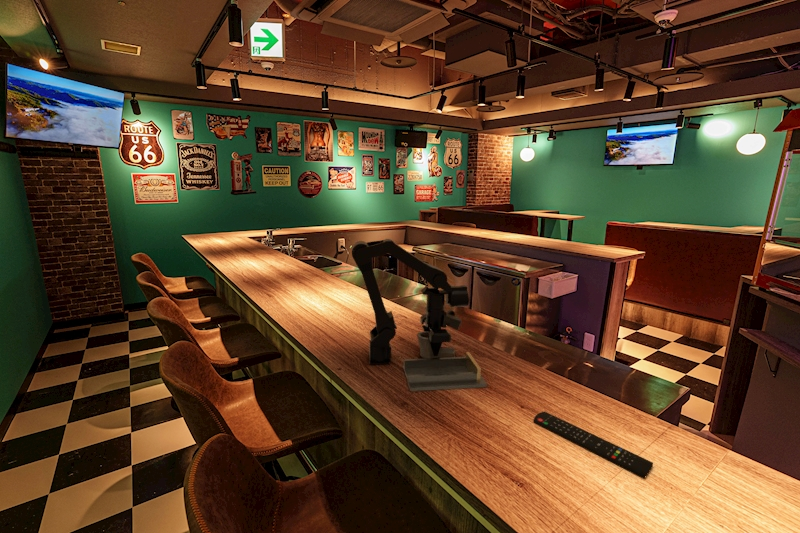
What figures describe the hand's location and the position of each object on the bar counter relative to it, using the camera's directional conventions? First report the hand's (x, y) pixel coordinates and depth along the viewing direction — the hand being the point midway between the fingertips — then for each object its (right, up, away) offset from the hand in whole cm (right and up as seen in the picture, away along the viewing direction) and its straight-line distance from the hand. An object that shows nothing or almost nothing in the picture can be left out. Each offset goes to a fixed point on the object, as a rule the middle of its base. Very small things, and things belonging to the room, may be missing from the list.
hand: (433, 351), depth 123 cm
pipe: (+1, -2, 0) cm, 2 cm away
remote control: (+31, -12, -40) cm, 52 cm away
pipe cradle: (+2, -5, -12) cm, 13 cm away
